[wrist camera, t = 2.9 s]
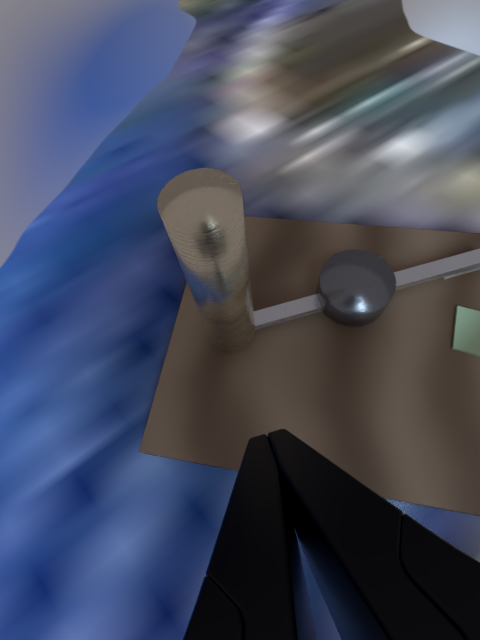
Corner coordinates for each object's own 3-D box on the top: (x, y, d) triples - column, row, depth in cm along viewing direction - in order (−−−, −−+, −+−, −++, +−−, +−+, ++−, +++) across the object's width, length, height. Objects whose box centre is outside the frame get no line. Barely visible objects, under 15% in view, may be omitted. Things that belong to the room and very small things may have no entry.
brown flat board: (527, 251, 25) (544, 236, 24) (594, 537, 17) (624, 541, 16) (209, 226, 29) (205, 211, 27) (147, 454, 21) (137, 451, 19)
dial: (468, 233, 24) (607, 50, 14) (507, 284, 22) (702, 114, 12) (201, 306, 23) (149, 167, 13) (216, 367, 21) (168, 257, 11)
